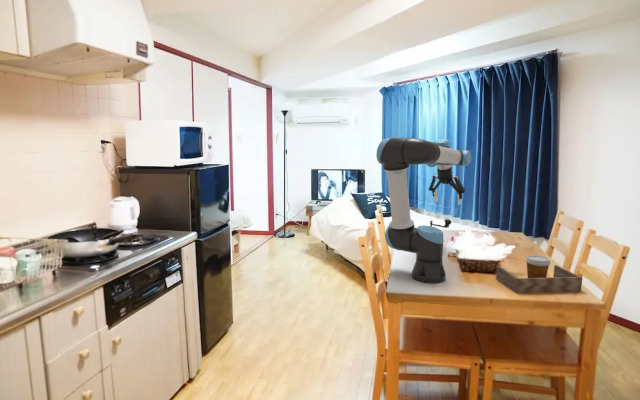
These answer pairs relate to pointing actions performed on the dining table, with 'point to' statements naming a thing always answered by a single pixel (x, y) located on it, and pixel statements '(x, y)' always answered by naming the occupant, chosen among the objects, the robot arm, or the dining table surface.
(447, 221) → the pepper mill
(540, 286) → the walnut crate
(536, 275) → the disposable coffee cup
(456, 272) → the dining table surface
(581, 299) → the dining table surface
